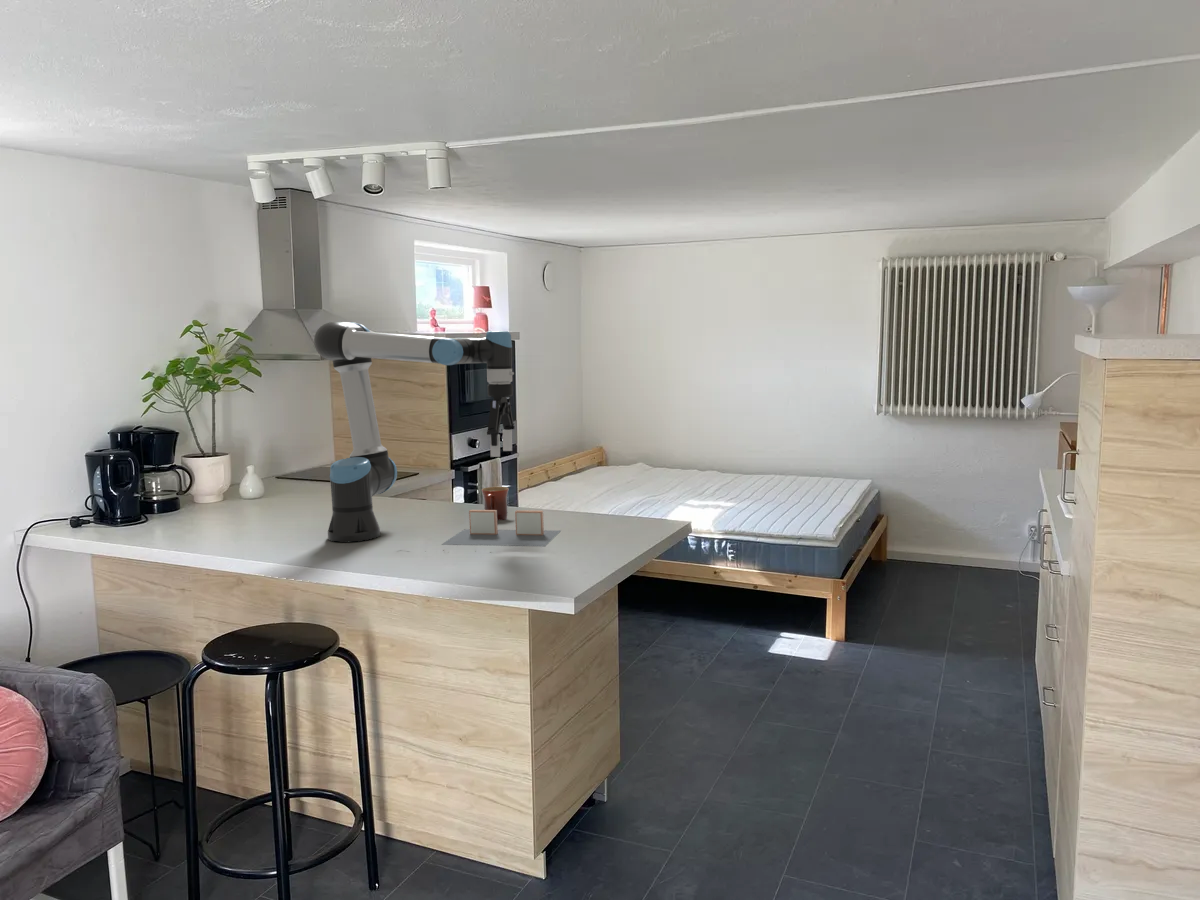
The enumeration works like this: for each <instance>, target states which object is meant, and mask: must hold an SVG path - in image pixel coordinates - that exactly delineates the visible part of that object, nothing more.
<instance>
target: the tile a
mask: <svg viewBox="0 0 1200 900" xmlns="http://www.w3.org/2000/svg"><path fill="white" fill-rule="evenodd" d="M468 514H469V517H468V519H469V529H470V534H490V535H496V534H498V530H499V527H498V520H497V510H484V509H470V510H468Z"/></svg>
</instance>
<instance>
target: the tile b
mask: <svg viewBox="0 0 1200 900" xmlns="http://www.w3.org/2000/svg"><path fill="white" fill-rule="evenodd" d="M514 518H515V530H516V535H544V530H545V524H544V510H531V509H529V510H527V509H526V510H518V509H517V510H515V513H514Z"/></svg>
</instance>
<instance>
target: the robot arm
mask: <svg viewBox="0 0 1200 900" xmlns="http://www.w3.org/2000/svg"><path fill="white" fill-rule="evenodd" d="M313 336H314V337H313V345H314V348H315V350H316V352H317V353H318V354H319V355H320V356H321V358H323V359H326V360H328V361H332V365H333V369H334V370H335V371H337V372H338V373H339V376H340V382H341V386H342V393H343V397H344V404H345V408H346V410H345V411H346V413H347V414H346V415H347V421H348V425H349V426H348V427H349V431H350V438H351V443H352V451H351V452H350V454H349V457H346V458H342V459H338V460H336V461H333V463H332V464H331V465H330V467H329V468H330V469H329V480H330V492H331V493H330V494H331V495H330V496H331V506H332V507H331V509H332V515H331V518H330V522H329V526H328V530H327V540H328V539H329V540H328V541H330V540H332V541H331V542H334V541H340V542H339V543H349V542H348V541H358V542H363V541H362V540H365V541H369V540H368V539H370V540H373V539H372V538H374V539H376V537H377V538H379V537H380V536H381V527H380V526H379V522H378V520H377V518H376V515H375V512H374V510H373V509H374V508H373V507H374V506H373V496H376V495H381V494H383V493H386V492H387V491H388V490H390V489H391V488H392V487H393V485H394V484H395V483H396V481H397V477H398V468H397V465H396V463H395V461H394V460H393V459H391V457H389V453H388V452H389V451H388V449H387V447H385V446H384V445H383V444H382V441H381V435H380V429H379V424H378V420H377V419H378V418H377V412H376V407H375V401H374V396H373V390H372V383H371V379H370V372H369V368H370V367H371V365H372V364H373V361H372V359H379V360H380V359H381V360H392V361H401V362H402V361H403V362H404V361H405V362H416V363H428V364H429V363H431V364H437V365H438V364H439V365H443V366H453V365H464V364H465V365H466V364H486V378H487V379H486V381H487V383H488V384H487V396H488V397H491V398H493V400H490V401H489V415H488V425H487V431H486V435H488V436H489V445H490V458H494V457H495V458H500V457H501V439H500V438H501V434H499V433H500V427H501V423H502V428H503V429H502V450H503V452H513V430H515V425H514V419H513V413H512V406H511V405H512V404H511V397H513V395H514V386H513V383H511V382H513V375H515V372H514V371H513V344H512V341H513V340H512V334H511V332H510V331H507V330H503V331H502V330H496V331H490V330H489V331H487V332H486V333H485V337H481V338H480V337H478V338H477V337H455V338H454V337H441V336H439V337H435V336H430V335H429V336H427V335H416V334H415V335H414V334H401V333H389V332H388V333H387V332H377V331H375V332H374V331H370V329H369V328H368V327H366V326H365V325H363V324H362V323H357V322H353V321H342V322H341V321H329V322H326V323H324V324H322V325H321V326H320V327H318V328H317V329H316V331H315V334H314V335H313ZM378 536H379V537H378Z"/></svg>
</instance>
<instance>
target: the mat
mask: <svg viewBox="0 0 1200 900" xmlns="http://www.w3.org/2000/svg"><path fill="white" fill-rule="evenodd" d="M560 533H561V530H555V529H554V530H552V529H550V530H549V529H548V530H546V529H544V535H516V529H498V534H496V535H490V534H470V528H464V529H463V530H461V531H459V532H458V533H456V534H454V535H453V536H452V537H450V538H449V539H448V540H446V541H445V542H442V543H441V545H443V546H444V545H447V546H448V545H449V546H496V547H497V546H498V547H499V546H501V547H502V546H503V547H514V546H515V547H546V546H547V545H548V544H549V543H550V542H551V541H552V540H553V539H555V537H556V536H558V534H560Z"/></svg>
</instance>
